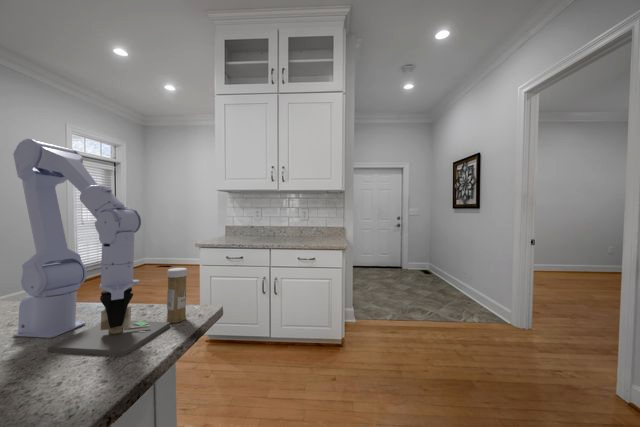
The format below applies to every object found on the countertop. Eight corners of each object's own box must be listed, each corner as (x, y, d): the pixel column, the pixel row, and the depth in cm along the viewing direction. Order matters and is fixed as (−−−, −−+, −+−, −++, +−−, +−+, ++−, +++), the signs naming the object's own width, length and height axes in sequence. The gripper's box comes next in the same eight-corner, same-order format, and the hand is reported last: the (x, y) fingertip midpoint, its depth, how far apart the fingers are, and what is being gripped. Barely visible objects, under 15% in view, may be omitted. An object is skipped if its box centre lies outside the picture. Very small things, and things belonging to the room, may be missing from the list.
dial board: (47, 351, 52) (48, 345, 52) (109, 323, 66) (109, 318, 66) (124, 356, 51) (124, 349, 51) (170, 326, 65) (170, 321, 65)
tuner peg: (99, 335, 56) (100, 312, 57) (104, 331, 59) (105, 308, 59) (148, 330, 60) (149, 308, 60) (151, 325, 62) (151, 304, 62)
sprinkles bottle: (187, 321, 68) (188, 269, 69) (166, 324, 66) (168, 271, 66) (184, 315, 72) (186, 266, 72) (165, 318, 70) (166, 267, 70)
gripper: (142, 266, 56) (140, 330, 55) (137, 257, 67) (135, 310, 67) (98, 269, 51) (96, 340, 51) (101, 259, 63) (99, 317, 62)
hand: (116, 324), depth 59 cm, fingers closed on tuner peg, 3 cm apart
